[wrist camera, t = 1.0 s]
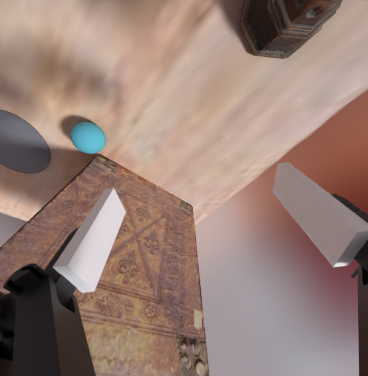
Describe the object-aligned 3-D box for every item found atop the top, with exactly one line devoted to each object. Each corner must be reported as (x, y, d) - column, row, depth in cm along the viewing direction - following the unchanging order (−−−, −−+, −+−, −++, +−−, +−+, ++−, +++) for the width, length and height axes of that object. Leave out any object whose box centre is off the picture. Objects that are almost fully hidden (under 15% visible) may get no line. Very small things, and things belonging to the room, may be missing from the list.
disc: (-47, 114, 29) (-48, 114, 29) (22, 104, 28) (21, 104, 28) (7, 175, 36) (6, 176, 36) (62, 169, 36) (62, 169, 35)
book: (193, 206, 43) (211, 383, 18) (173, 225, 47) (166, 391, 22) (99, 153, 34) (-121, 361, 9) (84, 182, 38) (-93, 381, 13)
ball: (74, 120, 30) (56, 128, 25) (103, 117, 30) (89, 124, 25) (88, 148, 33) (74, 160, 29) (114, 145, 33) (103, 156, 28)
